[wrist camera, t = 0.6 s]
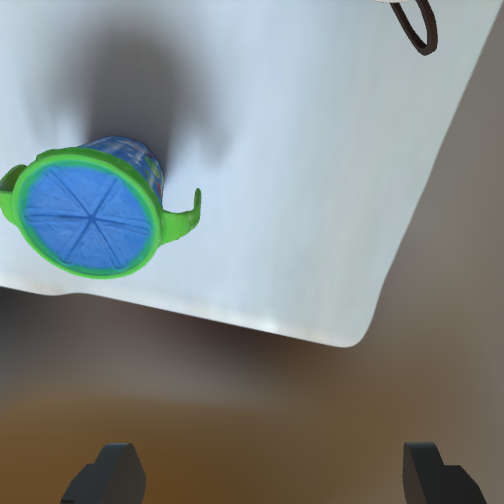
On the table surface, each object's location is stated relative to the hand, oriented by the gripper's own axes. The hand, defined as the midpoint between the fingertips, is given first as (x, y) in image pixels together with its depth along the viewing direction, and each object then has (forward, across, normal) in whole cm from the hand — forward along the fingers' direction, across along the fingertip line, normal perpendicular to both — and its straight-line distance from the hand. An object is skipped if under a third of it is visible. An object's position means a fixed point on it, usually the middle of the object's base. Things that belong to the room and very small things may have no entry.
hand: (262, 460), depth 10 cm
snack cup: (+26, +15, -5) cm, 30 cm away
